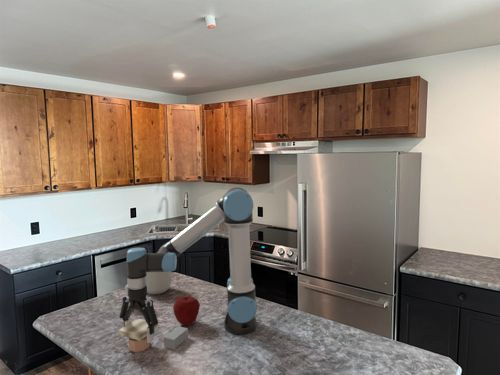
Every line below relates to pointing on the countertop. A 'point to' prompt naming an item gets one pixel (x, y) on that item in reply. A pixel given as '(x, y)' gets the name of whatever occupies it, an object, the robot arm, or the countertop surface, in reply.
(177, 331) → the grey rectangular block
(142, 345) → the bowl
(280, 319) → the countertop surface
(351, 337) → the countertop surface
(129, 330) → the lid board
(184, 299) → the apple
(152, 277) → the planter
